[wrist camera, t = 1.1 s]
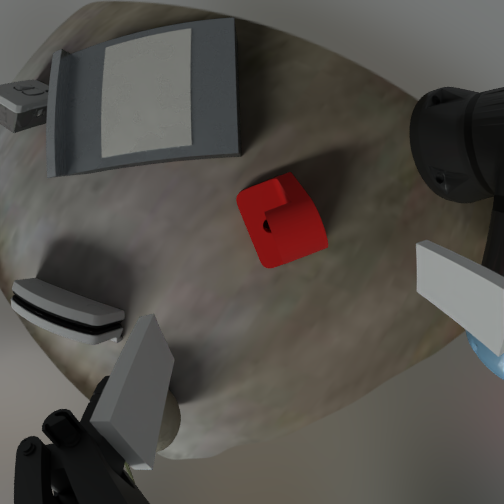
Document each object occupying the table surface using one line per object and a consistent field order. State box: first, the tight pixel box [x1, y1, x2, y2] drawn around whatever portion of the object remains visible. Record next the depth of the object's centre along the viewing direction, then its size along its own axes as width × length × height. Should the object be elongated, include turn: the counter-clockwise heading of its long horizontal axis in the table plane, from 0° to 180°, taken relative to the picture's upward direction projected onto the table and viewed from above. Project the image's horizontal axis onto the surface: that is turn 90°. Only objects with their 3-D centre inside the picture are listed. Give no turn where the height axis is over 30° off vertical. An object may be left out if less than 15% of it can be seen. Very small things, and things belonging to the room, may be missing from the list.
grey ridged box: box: [46, 18, 241, 178], centre depth 24 cm, size 19×14×8 cm
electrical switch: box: [0, 80, 49, 133], centre depth 23 cm, size 9×5×9 cm, turn 58°
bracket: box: [236, 172, 328, 268], centre depth 27 cm, size 9×6×10 cm
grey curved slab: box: [11, 278, 125, 345], centre depth 31 cm, size 17×5×10 cm, turn 76°
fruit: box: [124, 389, 181, 483], centre depth 31 cm, size 10×12×15 cm
